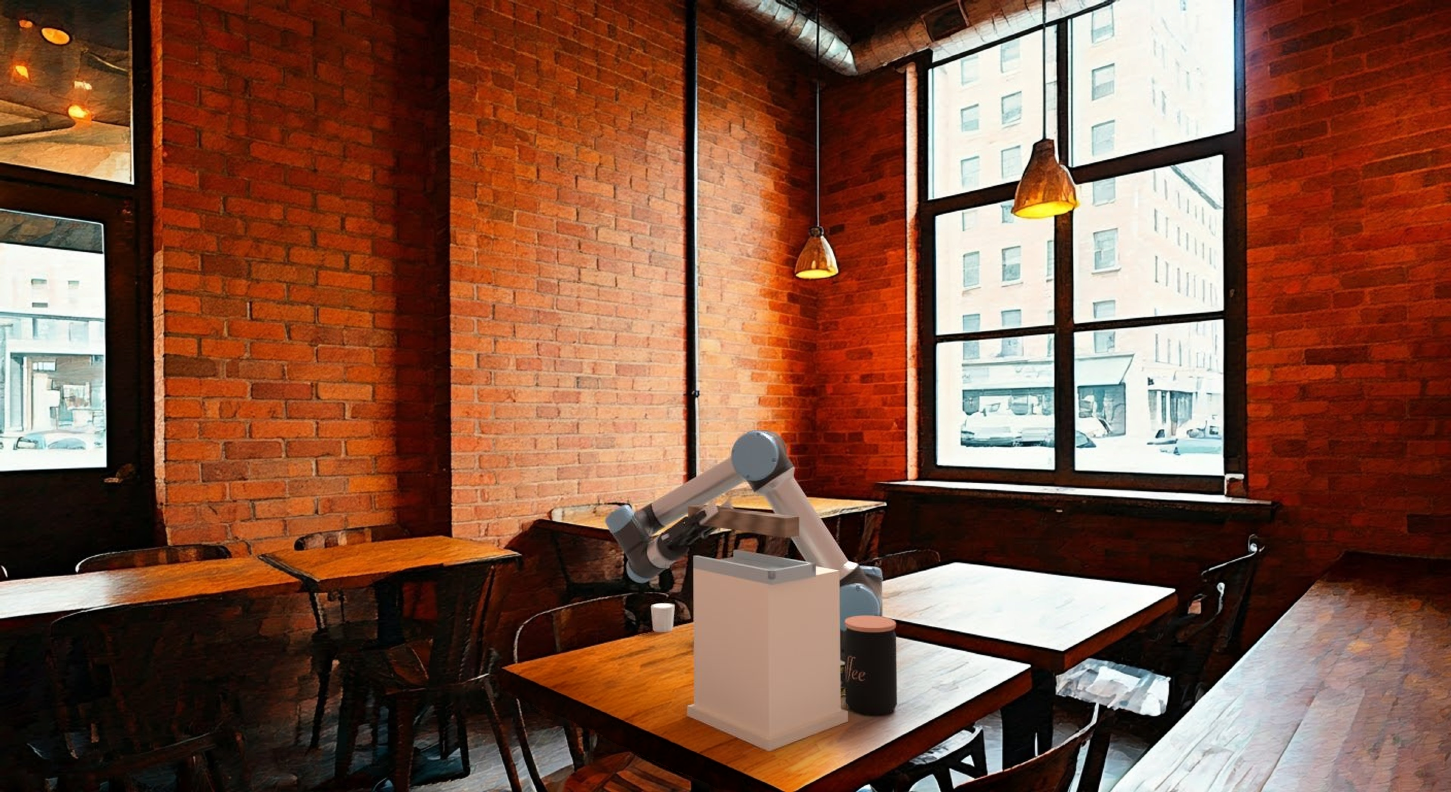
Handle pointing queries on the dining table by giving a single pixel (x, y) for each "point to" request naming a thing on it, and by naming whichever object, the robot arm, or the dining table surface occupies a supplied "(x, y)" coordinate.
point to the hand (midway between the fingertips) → (723, 506)
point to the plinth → (767, 657)
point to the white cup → (662, 617)
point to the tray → (757, 567)
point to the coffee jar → (870, 665)
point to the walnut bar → (751, 521)
